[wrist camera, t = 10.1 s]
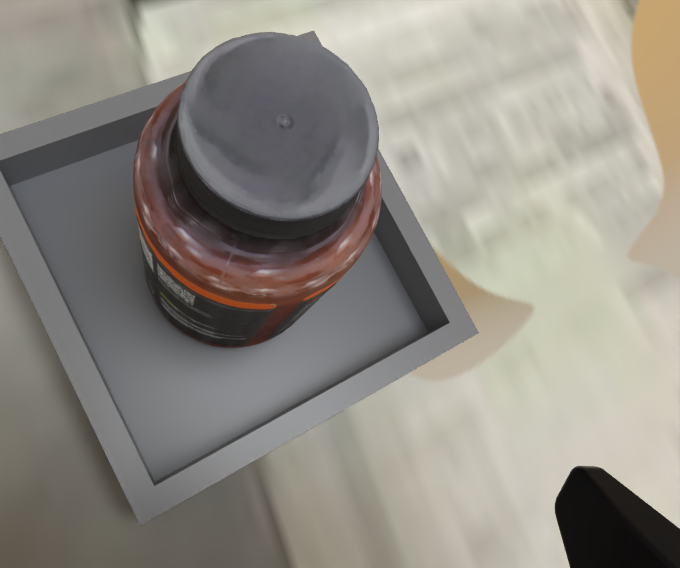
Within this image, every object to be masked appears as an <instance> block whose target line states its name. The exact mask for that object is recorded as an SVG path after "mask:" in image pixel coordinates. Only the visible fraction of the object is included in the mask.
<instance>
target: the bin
mask: <svg viewBox="0 0 680 568" xmlns="http://www.w3.org/2000/svg"><path fill="white" fill-rule="evenodd" d="M298 37H301V38H304V39H307V40H309V41H312V42H315V43H317V44H318V45H320V46H322V45H321V43H320V41H319V39H318V37H317V36H316V34H315V32H314V31H311V32H308V33H305V34H302V35H299V36H298ZM190 73H191V71H190V72H187V73H184V74H181V75H178V76H175V77H172V78H169V79H166V80H163V81H160V82H157V83H154V84H151V85H148V86H145V87H142V88H139V89H136V90H133V91H130V92H127V93H124V94H121V95H118V96H115V97H112V98H109V99H106V100H103V101H100V102H97V103H94V104H90V105H87V106H84V107H81V108H78V109H75V110H72V111H69V112H66V113H63V114H60V115H57V116H54V117H51V118H48V119H45V120H42V121H39V122H36V123H33V124H30V125H27V126H24V127H21V128H18V129H15V130H12V131H9V132H6V133H3V134H0V236H1V238H2V241H3V243H4V245H5V247H6V249H7V251H8V253H9V255H10V257H11V259H12V261H13V263H14V265H15V267H16V270H17V272H18V274H19V276H20V278H21V280H22V282H23V284H24V286H25V288H26V290H27V292H28V294H29V297H30V299H31V301H32V303H33V305H34V307H35V309H36V311H37V313H38V315H39V317H40V319H41V321H42V323H43V326H44V328H45V330H46V332H47V334H48V336H49V338H50V340H51V342H52V344H53V346H54V348H55V350H56V352H57V355H58V357H59V359H60V361H61V363H62V365H63V367H64V369H65V371H66V373H67V375H68V377H69V379H70V381H71V384H72V386H73V388H74V390H75V392H76V394H77V396H78V398H79V400H80V402H81V404H82V406H83V408H84V410H85V413H86V415H87V417H88V419H89V421H90V423H91V425H92V427H93V429H94V431H95V433H96V435H97V437H98V440H99V442H100V444H101V446H102V448H103V450H104V452H105V454H106V456H107V458H108V460H109V462H110V464H111V466H112V469H113V471H114V473H115V475H116V477H117V479H118V481H119V483H120V485H121V487H122V489H123V491H124V493H125V495H126V498H127V500H128V502H129V504H130V506H131V508H132V510H133V512H134V514H135V516H136V518H137V520H138V522H139V524H140V526H141V525H143V524H144V523H146V522H148V521H150V520H151V519H153V518H155V517H157V516H159V515H160V514H162V513H164V512H166V511H167V510H169V509H171V508H173V507H174V506H176V505H178V504H180V503H181V502H183V501H185V500H187V499H188V498H190V497H192V496H194V495H195V494H197V493H199V492H201V491H202V490H204V489H206V488H208V487H209V486H211V485H213V484H215V483H216V482H218V481H220V480H222V479H223V478H225V477H227V476H229V475H230V474H232V473H234V472H236V471H237V470H239V469H241V468H243V467H244V466H246V465H248V464H250V463H251V462H253V461H255V460H257V459H258V458H260V457H262V456H264V455H265V454H267V453H269V452H271V451H272V450H274V449H276V448H278V447H280V446H281V445H283V444H285V443H287V442H288V441H290V440H292V439H294V438H295V437H297V436H299V435H301V434H302V433H304V432H306V431H308V430H309V429H311V428H313V427H315V426H316V425H318V424H320V423H322V422H323V421H325V420H327V419H329V418H330V417H332V416H334V415H336V414H337V413H339V412H341V411H343V410H344V409H346V408H348V407H350V406H351V405H353V404H355V403H357V402H358V401H360V400H362V399H364V398H365V397H367V396H369V395H371V394H372V393H374V392H376V391H378V390H379V389H381V388H383V387H385V386H386V385H388V384H390V383H392V382H393V381H395V380H397V379H399V378H401V377H402V376H404V375H406V374H408V373H409V372H411V371H413V370H414V369H416V368H418V367H420V366H421V365H423V364H425V363H427V362H428V361H430V360H432V359H434V358H436V357H437V356H439V355H441V354H442V353H444V352H446V351H448V350H450V349H451V348H453V347H455V346H457V345H458V344H460V343H462V342H464V341H465V340H467V339H469V338H471V337H472V336H474V335H476V334H478V333H479V332H478V331H477V329H476V327H475V325H474V323H473V322H472V320H471V318H470V316H469V314H468V312H467V311H466V309H465V307H464V305H463V303H462V302H461V299H460V298H459V296H458V294H457V292H456V290H455V288H454V287H453V285H452V283H451V281H450V279H449V277H448V276H447V274H446V272H445V270H444V269H443V266H442V265H441V263H440V261H439V259H438V257H437V256H436V254H435V252H434V250H433V248H432V246H431V244H430V243H429V241H428V239H427V237H426V235H425V233H424V232H423V230H422V228H421V226H420V224H419V222H418V221H417V219H416V217H415V215H414V213H413V211H412V210H411V208H410V206H409V204H408V202H407V201H406V199H405V197H404V195H403V193H402V191H401V190H400V188H399V186H398V184H397V182H396V180H395V179H394V177H393V175H392V173H391V171H390V169H389V168H388V166H387V164H386V162H385V160H384V158H383V157H382V155H381V153H380V151H379V149H378V150H377V157H378V160H379V164H380V169H381V180H382V200H381V208H380V213H379V218H378V221H377V225H376V228H375V230H374V232H373V235H372V237H371V239H370V241H369V243H368V245H367V246H366V248H365V249H364V251H363V253H362V254H361V256H360V257H359V259H358V260H357V261H356V263H355V264H354V265H353V266H352V267H351V268H350V269H349V270H348V271H347V273H346V274H345V275H344V276H343V277H342V278H341V279H340V280H339V281H338V282H337V283H336V284H335V285H334V286H333V287H332V288H331V289H330V290H328V291H327V292H326V293H325V294H324V295H323V296H322V297H321V298H320V299H319V300H318V301H317V302H316V303H315V304H314V305H313V306H311V307H310V308H309V309H308V310H307V311H306V312H305V313H304V314H303V315H302V316H301V317H300V318H299V319H298V320H297V321H296V322H295V323H294V324H293V325H292V326H291V327H289V328H288V329H286V330H285V331H284V332H283V333H281V334H279V335H277V336H276V337H274V338H272V339H270V340H268V341H265V342H262V343H259V344H256V345H252V346H246V347H236V348H227V347H217V346H212V345H209V344H206V343H203V342H200V341H197V340H196V339H194V338H192V337H190V336H188V335H186V334H184V333H183V332H181V331H180V330H179V329H177V328H176V327H175V326H174V325H173V324H172V323H170V321H169V320H168V319H167V318H166V317H165V316H164V315H163V313H162V312H161V310H160V309H159V307H158V306H157V305H156V303H155V302H154V299H153V296H152V294H151V291H150V289H149V286H148V283H147V280H146V274H145V269H144V261H143V255H142V248H141V243H140V235H139V227H138V222H137V217H136V208H135V199H134V190H133V169H134V158H135V154H136V151H137V145H138V141H139V138H140V136H141V133H142V131H143V129H144V126H145V124H146V122H147V120H148V119H149V118H150V116H151V115H152V113H153V112H154V110H155V109H156V108H157V106H158V105H159V104H160V103H161V102H162V101H163V100H164V99H165V97H166V96H167V95H168V94H169V93H170V92H171V91H172V90H174V89H175V88H176V87H178V86H179V85H180V84H181V83H182V82H184V81H186V80H187V78H188V77H189V75H190Z"/></svg>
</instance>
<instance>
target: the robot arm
mask: <svg viewBox="0 0 680 568" xmlns="http://www.w3.org/2000/svg"><path fill="white" fill-rule="evenodd" d="M555 514H556V518H557V522H558V526H559V529H560V533H561V536H562V540H563V543H564V547H565V551H566V554H567V558H568V561H569V565H570V568H680V529H679V528H678V527H677V526H675V525H674V524H673V523H672V522H670V521H669V520H668V519H666V518H665V517H664V516H663V515H661V514H660V513H659V512H657V511H656V510H655V509H654V508H652V507H651V506H650V505H648V504H647V503H646V502H645V501H643V500H642V499H641V498H639V497H638V496H637V495H636V494H634V493H633V492H632V491H630V490H629V489H628V488H627V487H625V486H624V485H623V484H621V483H620V482H619V481H617V480H616V479H615V478H614V477H612V476H611V475H610V474H608V473H607V472H606V471H605V470H603V469H602V468H599V467H594V466H577V467H575V468H573V469H572V471H571V472H570V474H569V476H568V477H567V479H566V481H565V483H564V485H563V487H562V489H561V490H560V492H559V494H558V496H557V498H556V502H555Z"/></svg>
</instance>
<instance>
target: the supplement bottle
mask: <svg viewBox="0 0 680 568" xmlns="http://www.w3.org/2000/svg"><path fill="white" fill-rule="evenodd" d="M378 142H379V127H378V121H377V116H376V112H375V108H374V105H373V103H372V101H371V98H370V96H369V93H368V91H367V89H366V87H365V86H364V84H363V83H362V81H361V80H360V79H359V78H358V76H357V75H356V74H355V73H354V72H353V70H352V69H351V68H350V67H349V66H348V64H346V63H345V62H344V61H342V60H341V59H340V58H339V57H338V56H336V55H335V54H333V53H332V52H331V51H329V50H328V49H326V48H324V47H322V46H320V45H318V44H317V43H315V42H312V41H309V40H307V39H304V38H301V37H298V36H294V35H287V34H284V33H275V32H264V33H254V34H249V35H245V36H242V37H238V38H233V39H231V40H229V41H226V42H224V43H222V44H221V45H219V46H217V47H215V48H214V49H213V50H211V51H210V52H209V53H207V54H206V55H205V56H203V57H202V58H201V60H200V61H199V62H198V63H197V65H196V66H195V67H194V68H193V70H192V71H191V73H190V75H189V77H188V78H187V80H186V81H184V82H182V83H181V84H180V85H179V86H178V87H176V88H175V89H174V90H172V91H171V92H170V93H169V94H168V95H167V96H166V97H165V99H164V100H163V101H162V102H161V103H160V104H159V105H158V106H157V108H156V109H155V110H154V112H153V113H152V115H151V116H150V118H149V119H148V120H147V122H146V124H145V126H144V129H143V131H142V133H141V136H140V138H139V141H138V145H137V151H136V154H135V158H134V169H133V190H134V199H135V208H136V217H137V222H138V227H139V235H140V243H141V248H142V255H143V261H144V269H145V274H146V280H147V283H148V286H149V289H150V291H151V294H152V296H153V299H154V302H155V303H156V305H157V306H158V307H159V309H160V310H161V312H162V313H163V315H164V316H165V317H166V318H167V319H168V320H169V321H170V323H172V324H173V325H174V326H175V327H176V328H177V329H179V330H180V331H181V332H183V333H184V334H186V335H188V336H190V337H192V338H194V339H196V340H197V341H200V342H203V343H206V344H209V345H212V346H217V347H227V348H236V347H246V346H252V345H256V344H259V343H262V342H265V341H268V340H270V339H272V338H274V337H276V336H277V335H279V334H281V333H283V332H284V331H285V330H286V329H288V328H289V327H291V326H292V325H293V324H294V323H295V322H296V321H297V320H298V319H299V318H300V317H301V316H302V315H303V314H304V313H305V312H306V311H307V310H308V309H309V308H310V307H311V306H313V305H314V304H315V303H316V302H317V301H318V300H319V299H320V298H321V297H322V296H323V295H324V294H325V293H326V292H327V291H328V290H330V289H331V288H332V287H333V286H334V285H335V284H336V283H337V282H338V281H339V280H340V279H341V278H342V277H343V276H344V275H345V274H346V273H347V271H348V270H349V269H350V268H351V267H352V266H353V265H354V264H355V263H356V261H357V260H358V259H359V257H360V256H361V254H362V253H363V251H364V249H365V248H366V246H367V245H368V243H369V241H370V239H371V237H372V235H373V232H374V230H375V228H376V225H377V221H378V218H379V213H380V208H381V200H382V180H381V169H380V164H379V160H378V157H377V150H378Z"/></svg>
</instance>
